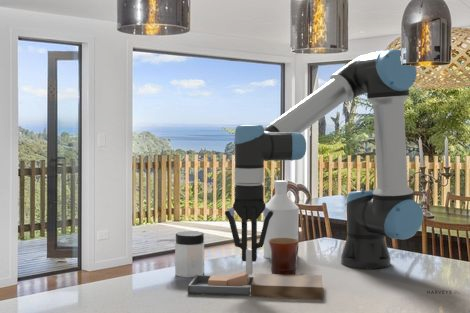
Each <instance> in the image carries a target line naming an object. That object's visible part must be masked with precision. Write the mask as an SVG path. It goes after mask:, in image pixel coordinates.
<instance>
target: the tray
mask: <svg viewBox="0 0 470 313" xmlns="http://www.w3.org/2000/svg"><path fill="white" fill-rule="evenodd" d="M211 275H212V274H211ZM211 275H210V274H209V275H205V274H204V275H196V276H195V277H192V278H193V279H192V280H191V281H190V282H189V284H188V285H187V295H201V296H202V295H210V296H234V297H235V296H237V297H251V283H252V281H253V278H254V276H249V278H250V281H249V283H248V284H247V285H244V286H240V287H235V286H208V280H209V278H210V276H211Z"/></svg>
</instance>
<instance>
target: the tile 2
mask: <svg viewBox="0 0 470 313" xmlns="http://www.w3.org/2000/svg"><path fill="white" fill-rule="evenodd" d="M228 276H229V278H228V279H227V282H228V285H229V286H235V287H240V286H244V285H247V284H248V283H249V281H250V278H249V277H250V275H246V270H244V271H241V272H237V273H234V274H231V275H228Z"/></svg>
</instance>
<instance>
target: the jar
mask: <svg viewBox="0 0 470 313" xmlns="http://www.w3.org/2000/svg"><path fill="white" fill-rule="evenodd" d="M204 235H205V234H204V232H202V231H194V230H186V231H185V230H184V231H179V232H177V233H175V244H174V248H175V249H174V253H175V254H174V256H175V257H174V264H175V274H174V275H175V276H178V277H181V278H188V279H190V278H194V277H195V276H196V275H203V274H204V273H205V237H204Z"/></svg>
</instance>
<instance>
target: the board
mask: <svg viewBox="0 0 470 313" xmlns="http://www.w3.org/2000/svg"><path fill="white" fill-rule="evenodd" d="M253 277H254V278H253V281H252V283H251V294H250V297H251V298H275V299H277V298H278V299H301V300H302V299H306V300H310V299H311V300H323V296H324V295H323V292H324V291H323V289H324V288H323V275H319V274H318V275H317V274H316V275H315V274H313V275H312V274H295V275H289V274H272V273H254V275H253Z"/></svg>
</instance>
